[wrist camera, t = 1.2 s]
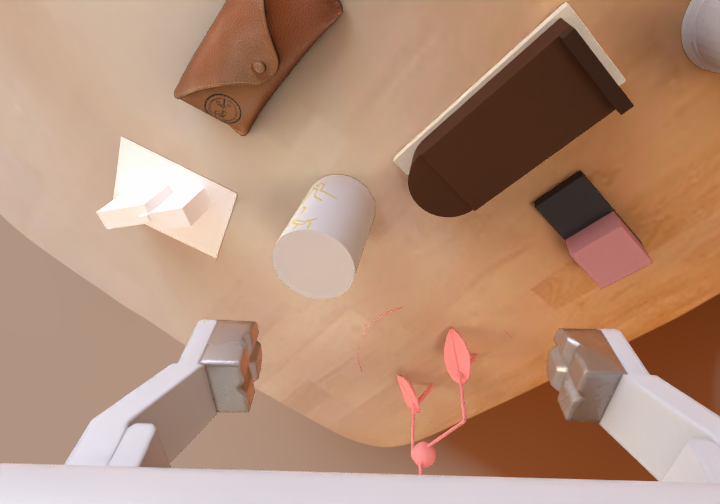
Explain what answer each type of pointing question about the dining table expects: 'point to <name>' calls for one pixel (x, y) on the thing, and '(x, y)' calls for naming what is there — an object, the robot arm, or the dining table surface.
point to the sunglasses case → (251, 55)
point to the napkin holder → (167, 199)
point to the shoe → (513, 117)
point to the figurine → (459, 371)
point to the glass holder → (702, 34)
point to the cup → (325, 238)
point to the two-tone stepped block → (593, 231)
